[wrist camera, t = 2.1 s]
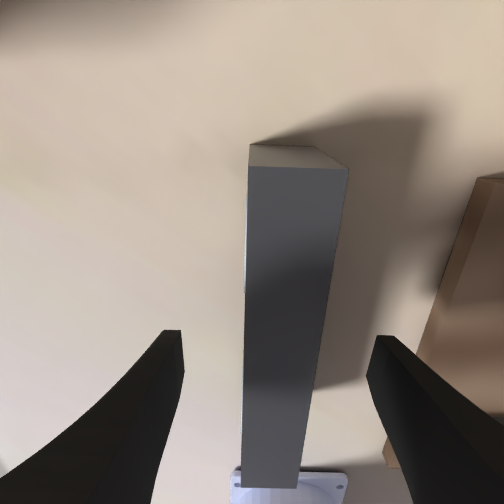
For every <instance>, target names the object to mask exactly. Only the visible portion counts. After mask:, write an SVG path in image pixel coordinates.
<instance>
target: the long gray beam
mask: <svg viewBox="0 0 504 504" xmlns="http://www.w3.org/2000/svg"><path fill="white" fill-rule="evenodd" d="M348 173H349V169H348V168H347V167H345V166H343V165H342V164H340V163H339V162H337V161H336V160H334V159H333V158H331V157H329V156H328V155H326V154H325V153H323V152H322V151H320V150H318V149H317V148H315V147H313V146H282V145H251V144H250V149H249V163H248V193H247V199H246V226H245V263H244V293H245V322H244V350H243V373H242V405H241V434H242V446H241V488H278V489H297V483H298V477H299V471H300V464H301V458H302V452H303V446H304V440H305V434H306V428H307V422H308V416H309V410H310V404H311V398H312V392H313V386H314V379H315V373H316V367H317V361H318V355H319V349H320V343H321V337H322V331H323V325H324V319H325V313H326V307H327V301H328V294H329V288H330V282H331V276H332V270H333V264H334V258H335V252H336V246H337V240H338V234H339V228H340V222H341V216H342V209H343V203H344V197H345V191H346V185H347V179H348Z"/></svg>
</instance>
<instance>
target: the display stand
mask: <svg viewBox="0 0 504 504" xmlns="http://www.w3.org/2000/svg"><path fill="white" fill-rule="evenodd" d="M416 356H418V357H419V358H420V359H421V360H422V361H423V362H424V363H425V364H427V365H428V366H429V367H430V368H431V369H432V370H433V371H435V372H436V373H437V374H438V375H439V376H440V377H442V378H443V379H444V380H445V381H446V382H448V383H449V384H450V385H451V386H452V387H454V388H455V389H456V390H457V391H458V392H460V393H461V394H462V395H464V396H465V397H466V398H467V399H469V400H470V401H471V402H472V403H474V404H475V405H476V406H478V407H479V408H480V409H481V410H483V411H484V412H485V413H487V414H488V415H490V416H491V417H492V418H494V419H495V420H497V421H498V422H499V423H501V424H502V425H504V179H501V178H477V180H476V183H475V186H474V189H473V192H472V195H471V197H470V200H469V203H468V206H467V209H466V212H465V215H464V218H463V221H462V223H461V226H460V229H459V232H458V235H457V238H456V241H455V244H454V246H453V249H452V252H451V255H450V258H449V261H448V264H447V267H446V270H445V272H444V275H443V278H442V281H441V284H440V287H439V290H438V293H437V295H436V298H435V301H434V304H433V307H432V310H431V313H430V316H429V319H428V321H427V324H426V327H425V330H424V333H423V336H422V339H421V342H420V344H419V347H418V350H417V353H416ZM382 453H383V455H384V458H385V461H386V463H387V466H388V468H400V469H401V467H400V464H399V462H398V460H397V457H396V455H395V453H394V450H393V448H392V445H391V443H390V441H389V438H388V437H387V440H386V442H385V445H384V448H383V451H382Z"/></svg>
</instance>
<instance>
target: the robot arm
mask: <svg viewBox="0 0 504 504" xmlns="http://www.w3.org/2000/svg"><path fill="white" fill-rule="evenodd" d="M184 372H185V370H184V359H183V348H182V338H181V330H163V331H162V332H161V333H160V335H159V336H158V337H157V338H156V339H155V341H154V342H153V343H152V344H151V345H150V347H149V348H148V349H147V350H146V351H145V353H144V354H143V355H142V356H141V357H140V358H139V359H138V361H137V362H136V363H135V364H134V365H133V366H132V367H131V368H130V369H129V370H128V372H127V373H126V374H125V375H124V376H123V377H122V378H121V379H120V380H119V381H118V382H117V383H116V384H115V385H114V386H113V387H112V388H111V389H110V390H109V391H108V392H107V393H106V394H105V395H104V396H103V397H102V398H101V399H100V400H99V401H98V402H97V403H96V404H95V405H94V406H92V407H91V408H90V409H89V410H88V411H87V412H86V413H85V414H83V415H82V416H81V417H80V418H79V419H78V420H77V421H75V422H74V423H73V424H72V425H71V426H69V427H68V428H67V429H66V430H64V431H63V432H62V433H61V434H60V435H58V436H57V437H56V438H55V439H53V440H52V441H51V442H50V443H48V444H47V445H46V446H44V447H43V448H42V449H41V450H39V451H38V452H37V453H35V454H34V455H32V456H31V457H30V458H28V459H27V460H25V461H24V462H23V463H21V464H20V465H18V466H17V467H16V468H14V469H13V470H11V471H10V472H9V473H7V474H6V475H4V476H3V477H1V478H0V504H150V503H151V498H152V493H153V489H154V484H155V480H156V476H157V472H158V468H159V465H160V461H161V458H162V455H163V451H164V448H165V445H166V442H167V438H168V435H169V432H170V429H171V425H172V422H173V419H174V415H175V412H176V409H177V406H178V402H179V399H180V394H181V388H182V383H183V378H184ZM366 377H367V381H368V385H369V388H370V392H371V395H372V399H373V402H374V405H375V407H376V410H377V412H378V415H379V417H380V419H381V422H382V424H383V427H384V429H385V431H386V434H387V436H388V438H389V441H390V443H391V445H392V448H393V450H394V453H395V455H396V457H397V460H398V462H399V464H400V467H401V469H402V472H403V474H404V477H405V480H406V482H407V485H408V488H409V491H410V494H411V497H412V500H413V503H414V504H504V425H502V424H501V423H499V422H498V421H497V420H495V419H494V418H492V417H491V416H490V415H488V414H487V413H485V412H484V411H483V410H481V409H480V408H479V407H478V406H476V405H475V404H474V403H472V402H471V401H470V400H469V399H467V398H466V397H465V396H464V395H462V394H461V393H460V392H458V391H457V390H456V389H455V388H454V387H452V386H451V385H450V384H449V383H448V382H446V381H445V380H444V379H443V378H442V377H440V376H439V375H438V374H437V373H436V372H435V371H433V370H432V369H431V368H430V367H429V366H428V365H427V364H425V363H424V362H423V361H422V360H421V359H420V358H419V357H418V356H416V355H415V354H414V353H413V352H412V351H411V350H410V349H408V348H407V347H406V346H405V345H404V344H403V343H402V342H400V341H399V340H398V339H397V338H396V337H395V336H389V335H377V337H376V340H375V344H374V348H373V352H372V355H371V359H370V363H369V367H368V370H367V374H366ZM347 485H348V479H347V475H346V474H344V473H332V472H299V477H298V483H297V489H278V488H241V471H239V470H238V471H234V472H232V473H231V479H230V500H231V504H342V502H343V498H344V495H345V491H346V488H347Z"/></svg>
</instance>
